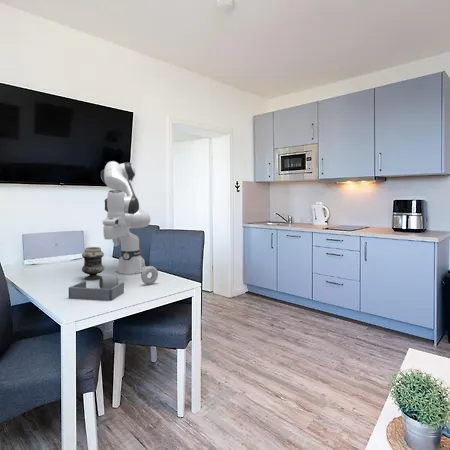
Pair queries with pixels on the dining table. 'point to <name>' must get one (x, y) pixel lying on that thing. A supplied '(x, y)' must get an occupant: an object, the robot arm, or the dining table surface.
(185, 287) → the dining table surface
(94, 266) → the apothecary jar
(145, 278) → the donut
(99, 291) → the box
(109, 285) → the ceramic mug
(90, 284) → the dining table surface
